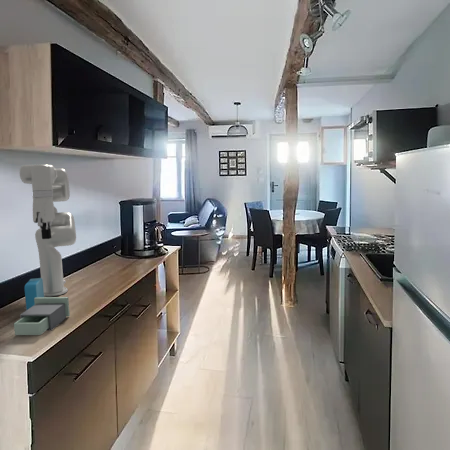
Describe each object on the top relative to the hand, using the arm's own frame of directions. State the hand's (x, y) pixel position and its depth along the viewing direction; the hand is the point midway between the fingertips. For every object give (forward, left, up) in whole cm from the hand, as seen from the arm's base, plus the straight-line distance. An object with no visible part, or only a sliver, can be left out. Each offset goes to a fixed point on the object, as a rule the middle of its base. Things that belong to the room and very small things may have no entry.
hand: (46, 238), depth 163 cm
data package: (+4, -5, -29) cm, 30 cm away
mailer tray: (+23, +7, -29) cm, 38 cm away
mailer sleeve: (+21, +7, -29) cm, 37 cm away
